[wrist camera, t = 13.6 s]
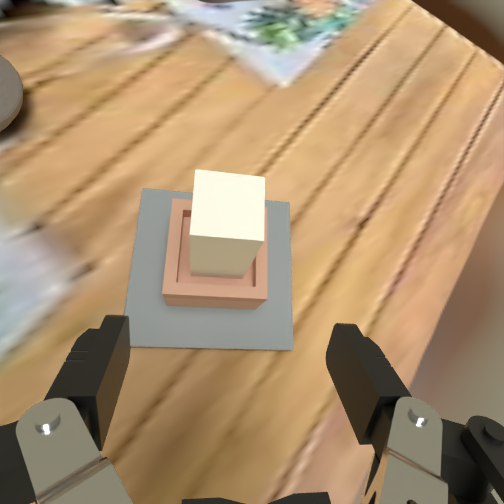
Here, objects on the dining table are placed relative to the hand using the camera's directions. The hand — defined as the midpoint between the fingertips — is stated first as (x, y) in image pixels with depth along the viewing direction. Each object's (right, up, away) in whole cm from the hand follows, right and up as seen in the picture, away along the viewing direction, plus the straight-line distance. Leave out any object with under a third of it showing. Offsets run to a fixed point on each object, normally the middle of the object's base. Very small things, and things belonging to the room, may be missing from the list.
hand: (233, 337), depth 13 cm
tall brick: (-2, +3, +16) cm, 17 cm away
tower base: (-3, +2, +21) cm, 22 cm away
